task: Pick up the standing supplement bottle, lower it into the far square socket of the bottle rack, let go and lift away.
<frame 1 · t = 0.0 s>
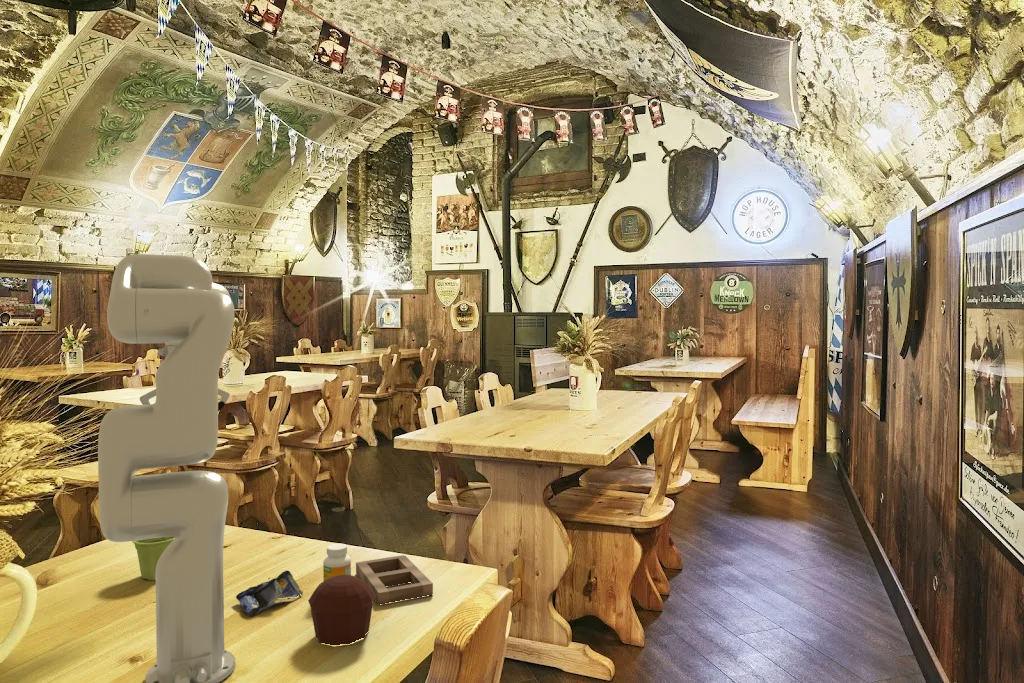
hand: (186, 433, 145), 31 cm above the table, tool pointing down, fingers open, 9 cm apart
bottle rack: (392, 584, 142), on the table
snack package: (268, 606, 133), on the table
supplement bottle: (337, 595, 137), on the table
plant pot: (157, 576, 148), on the table
muffin: (342, 636, 119), on the table
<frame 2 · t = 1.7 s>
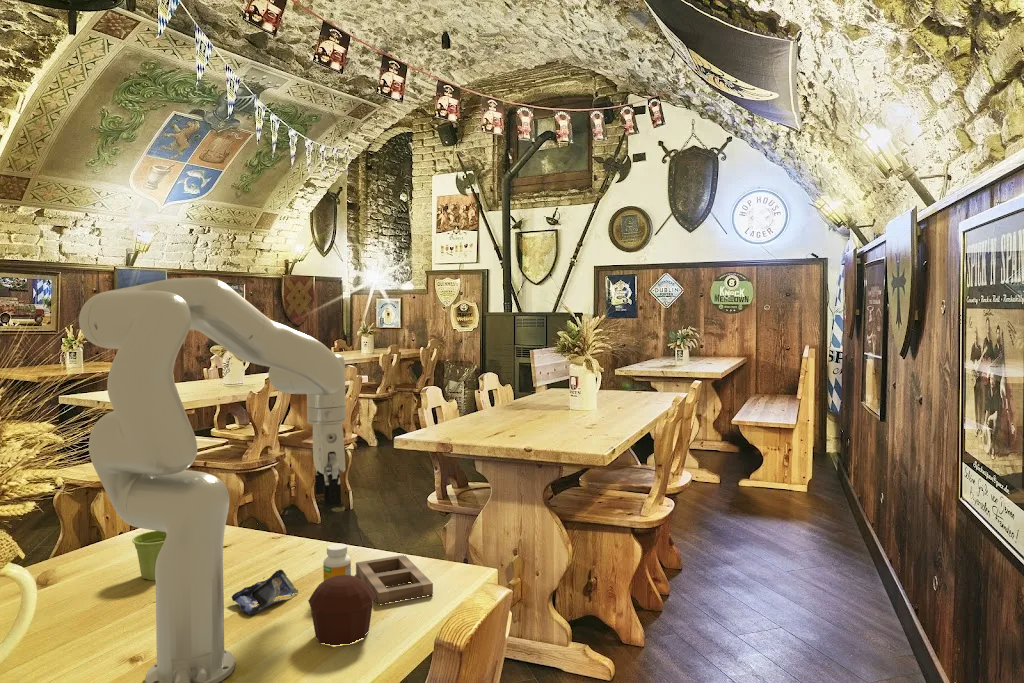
hand: (327, 499, 138), 19 cm above the table, tool pointing down, fingers open, 9 cm apart
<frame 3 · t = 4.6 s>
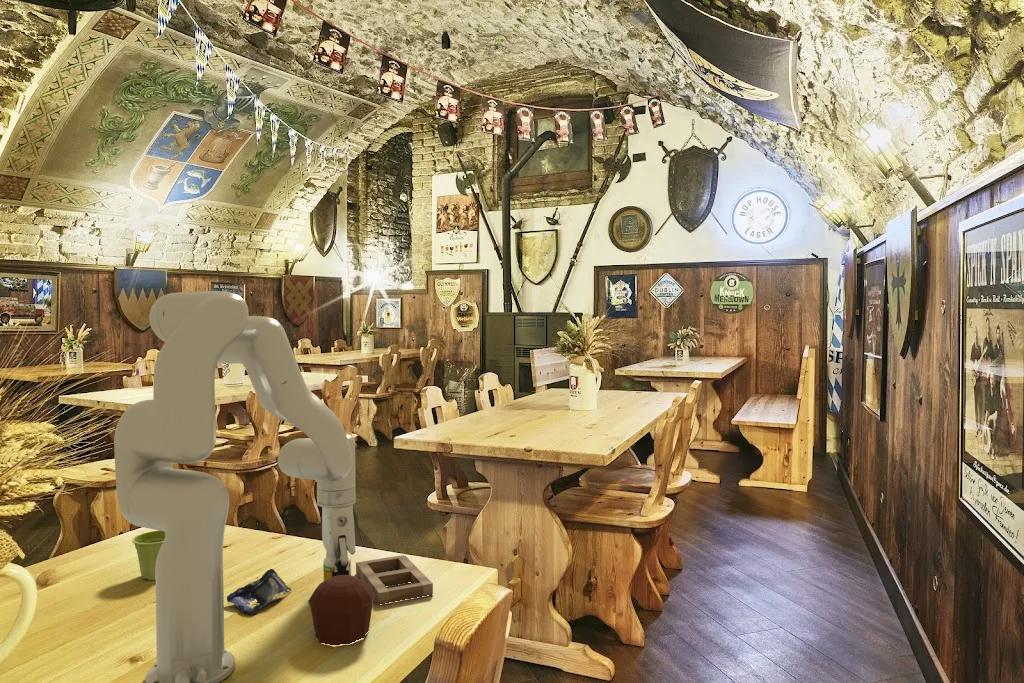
hand: (337, 584, 137), 2 cm above the table, tool pointing down, fingers closed on supplement bottle, 5 cm apart
snack package: (261, 605, 134), on the table
supplement bottle: (337, 595, 137), on the table, touching gripper
everything else where it was.
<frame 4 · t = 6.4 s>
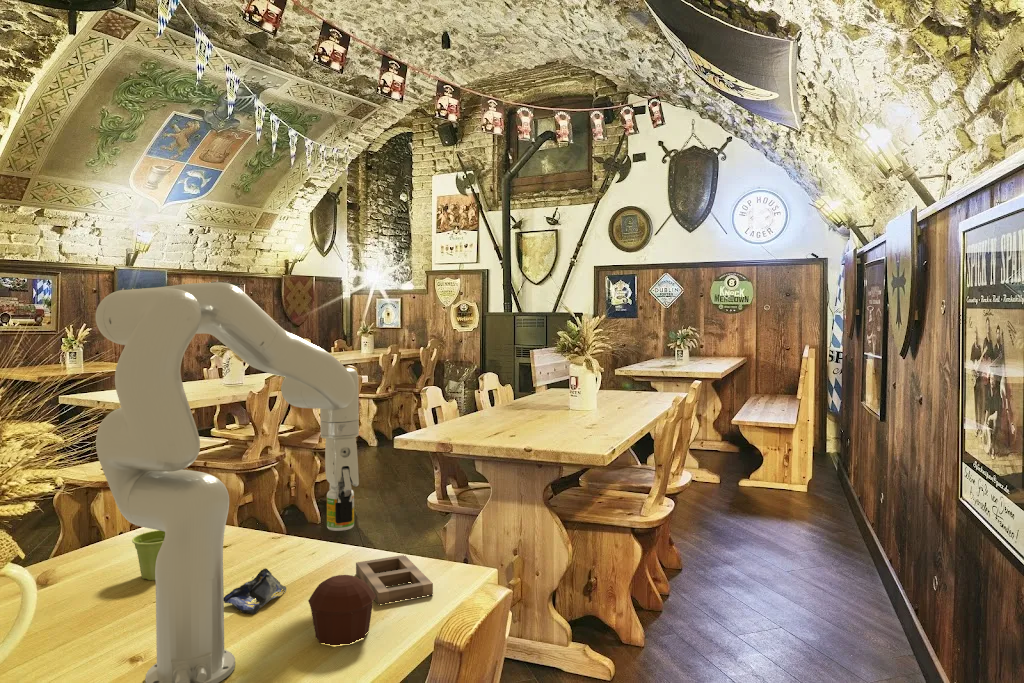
hand: (340, 517, 138), 15 cm above the table, tool pointing down, fingers closed on supplement bottle, 5 cm apart
supplement bottle: (340, 528, 138), point 13 cm above the table, touching gripper
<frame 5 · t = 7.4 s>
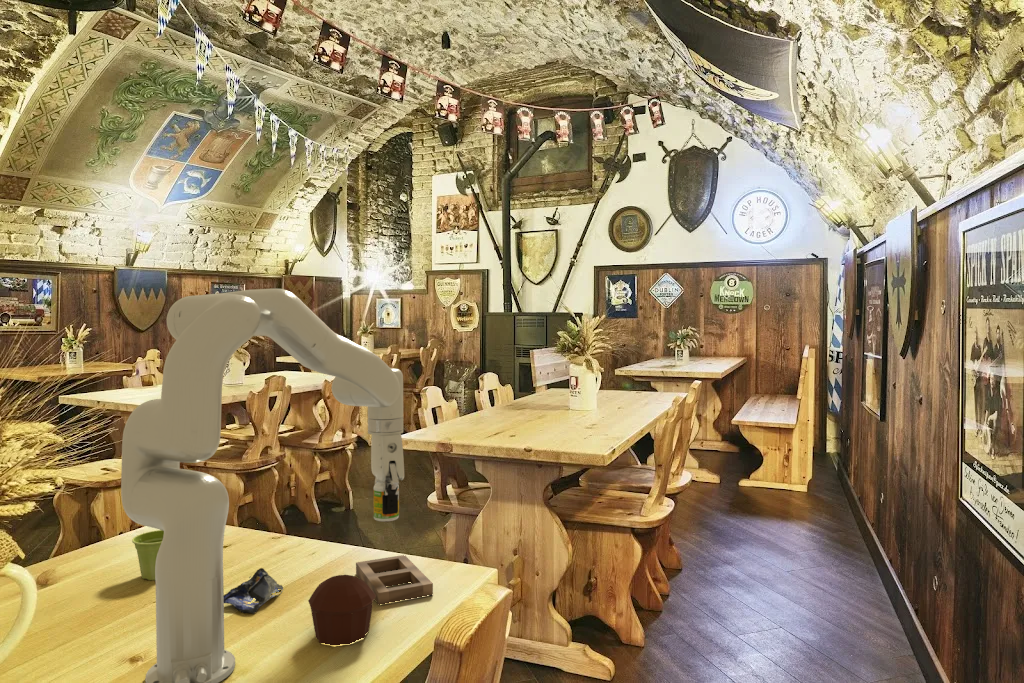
hand: (386, 509, 146), 15 cm above the table, tool pointing down, fingers closed on supplement bottle, 5 cm apart
supplement bottle: (386, 519, 146), point 13 cm above the table, touching gripper
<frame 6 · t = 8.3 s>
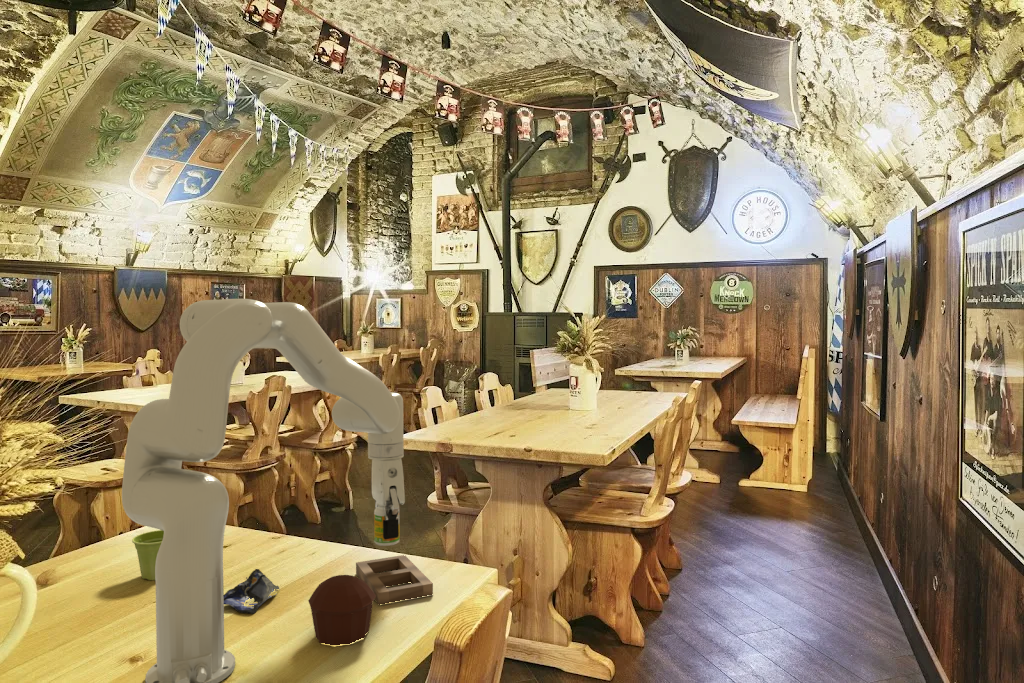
hand: (386, 533, 146), 10 cm above the table, tool pointing down, fingers closed on supplement bottle, 5 cm apart
supplement bottle: (387, 543, 146), point 7 cm above the table, touching gripper
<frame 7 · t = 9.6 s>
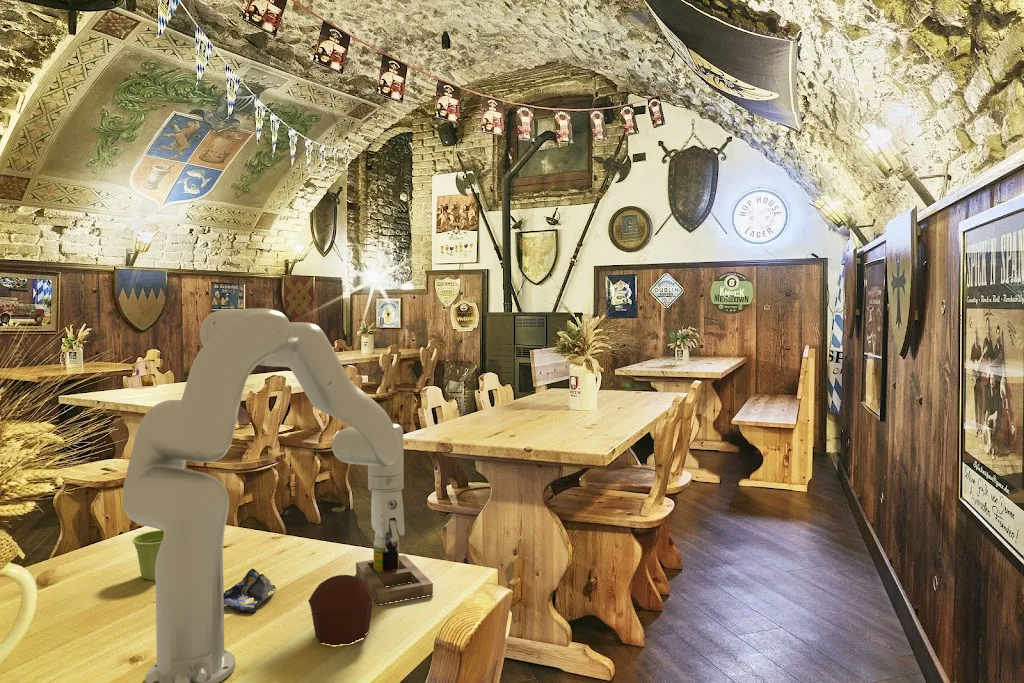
hand: (386, 564, 146), 3 cm above the table, tool pointing down, fingers closed on supplement bottle, 5 cm apart
supplement bottle: (386, 574, 146), point 1 cm above the table, touching gripper
when the fingers open (3 cm above the table, at t = 10.3 s): supplement bottle stays where it is, resting in bottle rack.
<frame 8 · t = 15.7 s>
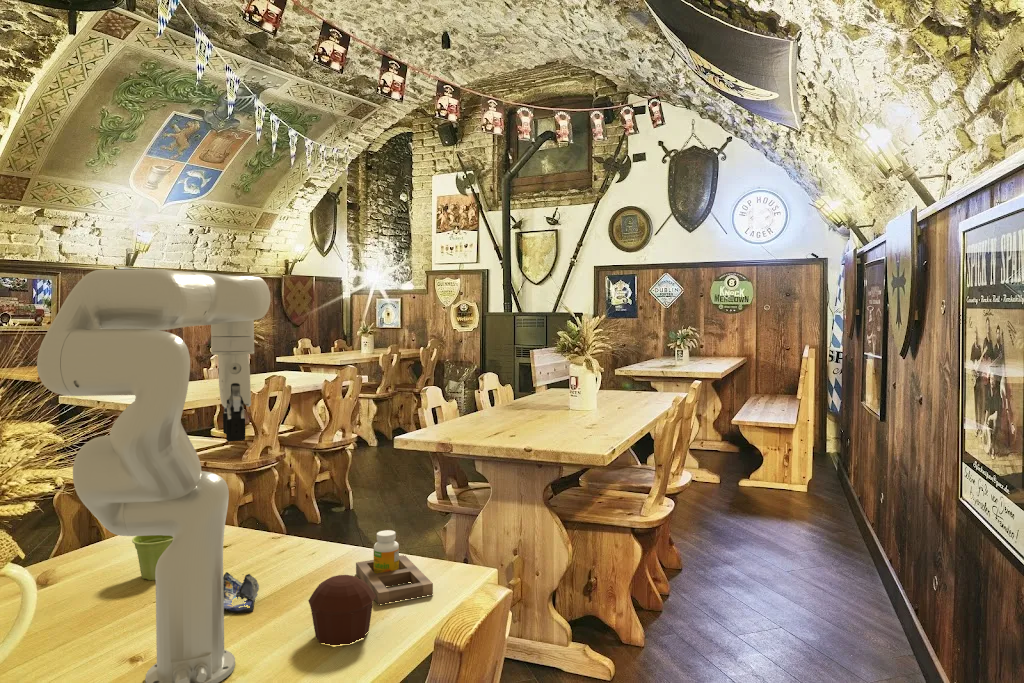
hand: (234, 436, 128), 33 cm above the table, tool pointing down, fingers open, 9 cm apart
snack package: (238, 605, 133), on the table
supplement bottle: (386, 578, 146), resting in bottle rack
everything else where it was.
at the end: supplement bottle 0.2 cm from the target spot on the bottle rack, point 0.0 cm above the bottle rack's base; supplement bottle tilted 0°; the gripper is holding nothing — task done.
